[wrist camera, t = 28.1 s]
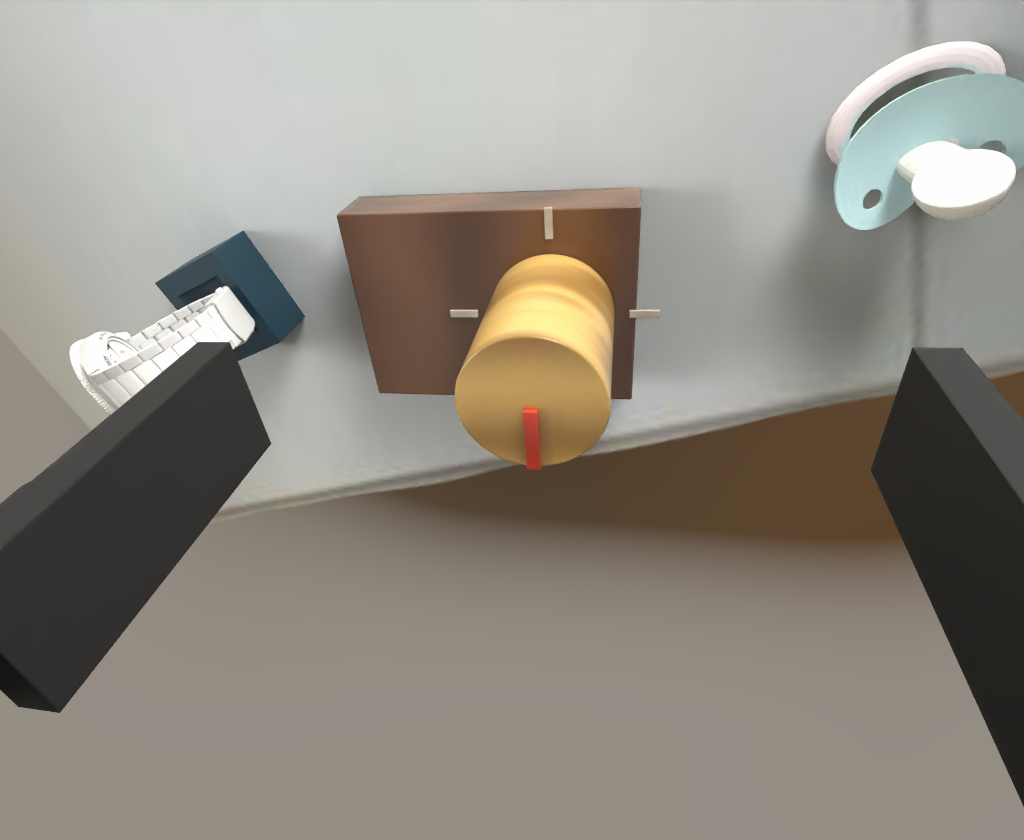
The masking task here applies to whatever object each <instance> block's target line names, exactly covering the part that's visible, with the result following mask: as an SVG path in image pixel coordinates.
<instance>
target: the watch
mask: <svg viewBox="0 0 1024 840" xmlns="http://www.w3.org/2000/svg"><path fill="white" fill-rule="evenodd" d="M155 284H156V285H157V286H158V287H159V289H160V290H161V291H162V292H163V293H164V295H165V296H166V297H167V298H168V299H169V301H170V302H171V303H172V304H173V305H174V307H175V308H176V309H177V311H175V312H174V313H173V314H171V315H169V316H167V317H165V318H163V319H161V320H160V321H158V322H157V323H158V324H159V325H160V326H161V328H162V329H163V330H162V329H161V328H160V327H159V325H158V324H157V323H155V324H153V325H152V326H150V327H148V328H146V329H145V330H143V331H141V333H139V334H137V335H135V336H133V337H132V338H130V337H131V336H130V335H129V333H128V332H122V333H115V334H112V333H110V332H97V333H95V334H93V335H91V336H89V337H87V338H86V339H84V340H79V341H77V342H76V343H74V344H73V345H72V346H71V349H70V359H71V363H72V366H73V368H74V370H75V372H76V374H77V376H78V378H79V380H80V381H81V383H82V384H83V385H84V387H85V388H86V390H87V391H88V392H89V393H90V395H91V396H92V397H93V398H94V399H95V400H96V401H97V403H99V404H100V405H101V406H102V407H103V408H104V409H105V410H106V411H107V412H109V413H110V414H112V413H113V412H115V411H116V410H117V409H118V408H119V407H121V406H122V405H123V404H124V403H125V402H127V401H128V400H129V399H130V398H131V397H133V396H134V395H135V394H136V393H137V392H139V391H140V390H141V389H142V388H143V387H145V386H146V385H147V384H148V383H149V382H151V381H152V380H153V379H154V378H155V377H157V376H158V375H159V374H160V373H161V372H163V371H164V370H165V369H166V368H167V367H169V366H170V365H171V364H172V363H173V362H174V361H176V360H177V359H178V358H179V357H180V356H182V355H183V354H184V353H185V352H186V351H188V350H189V349H190V348H191V347H192V346H194V345H195V344H196V343H197V342H230V344H231V346H232V348H233V351H234V353H235V356H236V358H237V361H239V360H241V359H244V358H246V357H248V356H250V355H253V354H255V353H257V352H259V351H262V350H264V349H266V348H268V347H270V346H273V345H275V344H277V343H279V342H281V341H282V340H283V339H284V338H285V337H286V336H287V335H288V334H289V333H290V332H291V330H292V329H293V328H294V327H295V326H296V325H297V324H298V323H299V322H300V321H301V320H302V319H303V318H304V317H305V316H304V314H303V313H302V312H301V310H300V309H299V307H298V306H297V305H296V303H295V302H294V301H293V299H292V298H291V296H290V295H289V294H288V292H287V291H286V289H285V288H284V287H283V285H282V284H281V282H280V281H279V280H278V278H277V277H276V275H275V274H274V273H273V271H272V270H271V269H270V267H269V266H268V264H267V263H266V262H265V260H264V259H263V257H262V256H261V255H260V253H259V252H258V250H257V249H256V248H255V246H254V245H253V244H252V242H251V241H250V239H249V238H248V237H247V235H246V234H245V232H244V231H242V232H240V233H239V234H237V235H235V236H233V237H231V238H230V239H228V240H226V241H224V242H222V243H221V244H219V245H217V246H215V247H214V248H212V249H210V250H208V251H206V252H205V253H203V254H201V255H199V256H197V257H196V258H194V259H192V260H190V261H189V262H187V263H185V264H184V265H182V266H181V267H179V268H178V269H176V270H175V271H173V272H172V273H170V274H168V275H167V276H165V277H164V278H162V279H161V280H159V281H158V282H156V283H155ZM174 315H175V316H176V317H175V316H174ZM169 327H170V328H171V329H172V331H173V332H172V331H171V329H170V328H169ZM142 334H143V335H142ZM153 337H154V338H155V339H154V338H153ZM129 338H130V339H129ZM155 340H156V341H157V342H156V341H155Z"/></svg>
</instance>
